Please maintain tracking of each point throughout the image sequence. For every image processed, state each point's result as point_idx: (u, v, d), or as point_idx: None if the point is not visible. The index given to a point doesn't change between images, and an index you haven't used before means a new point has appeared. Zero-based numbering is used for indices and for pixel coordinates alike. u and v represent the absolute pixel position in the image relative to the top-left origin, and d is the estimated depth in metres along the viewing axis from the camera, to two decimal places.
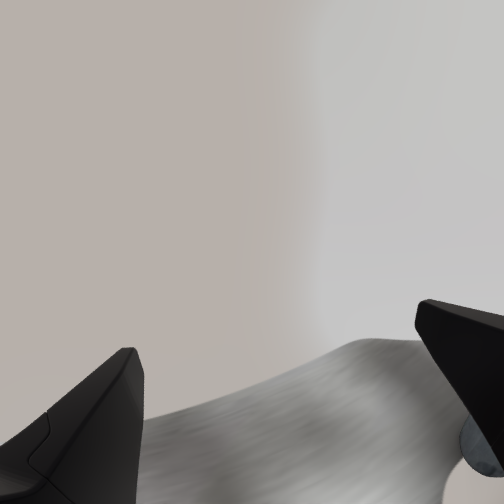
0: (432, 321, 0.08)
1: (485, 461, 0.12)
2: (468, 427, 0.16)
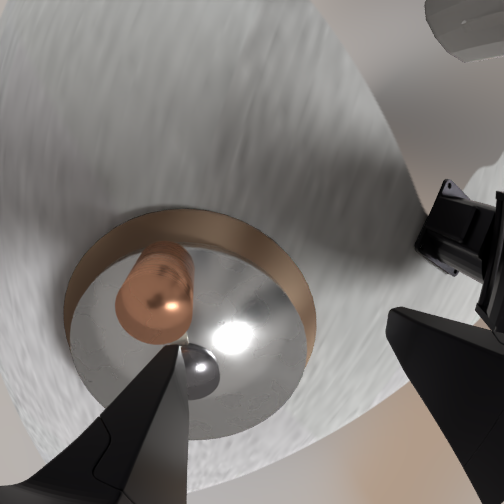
0: (402, 330, 0.08)
1: None
2: None
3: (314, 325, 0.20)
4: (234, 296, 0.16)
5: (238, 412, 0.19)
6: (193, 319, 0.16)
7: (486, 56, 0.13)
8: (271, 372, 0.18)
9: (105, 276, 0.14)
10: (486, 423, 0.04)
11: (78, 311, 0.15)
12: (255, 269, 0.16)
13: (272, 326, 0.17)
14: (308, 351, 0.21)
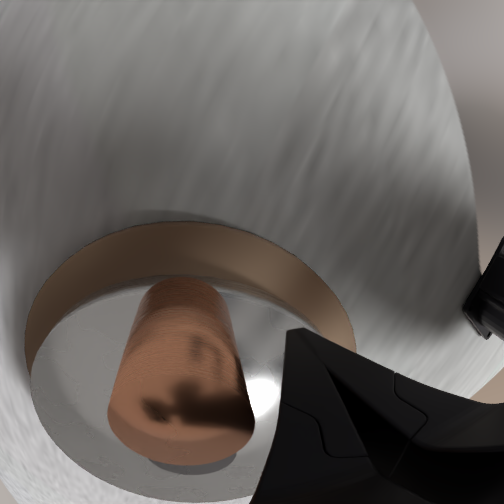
0: None
1: None
2: None
3: None
4: (277, 364, 0.10)
5: (243, 482, 0.13)
6: None
7: None
8: None
9: (85, 315, 0.09)
10: None
11: (42, 354, 0.09)
12: (314, 331, 0.10)
13: None
14: None
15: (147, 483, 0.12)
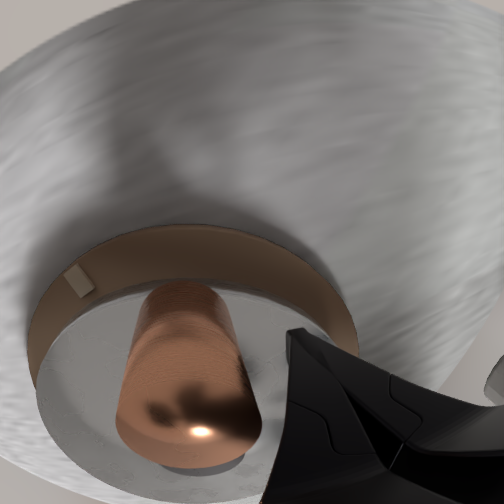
0: None
1: None
2: None
3: None
4: (280, 362, 0.11)
5: (253, 480, 0.13)
6: None
7: None
8: None
9: (86, 324, 0.09)
10: None
11: (46, 365, 0.09)
12: (315, 326, 0.11)
13: None
14: None
15: (158, 487, 0.12)
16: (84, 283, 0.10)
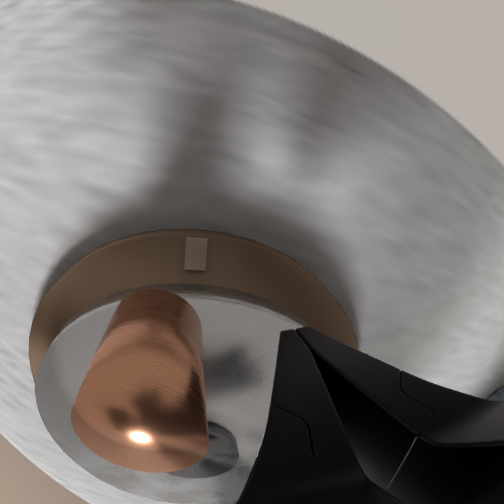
0: None
1: None
2: None
3: None
4: (262, 364, 0.10)
5: None
6: None
7: None
8: None
9: (69, 336, 0.09)
10: (379, 482, 0.04)
11: (41, 376, 0.09)
12: (294, 326, 0.10)
13: None
14: None
15: (164, 489, 0.12)
16: (200, 260, 0.11)
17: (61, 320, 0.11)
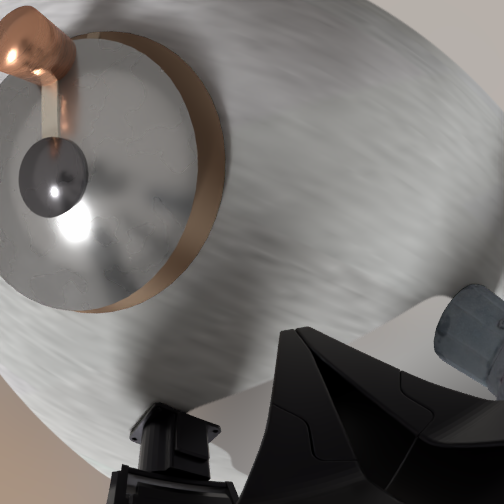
0: None
1: (450, 324, 0.22)
2: (477, 295, 0.22)
3: None
4: (108, 75, 0.11)
5: (115, 257, 0.14)
6: (67, 107, 0.11)
7: None
8: (150, 181, 0.13)
9: (5, 80, 0.10)
10: (379, 482, 0.04)
11: None
12: (132, 48, 0.11)
13: (148, 109, 0.12)
14: None
15: (34, 270, 0.13)
16: None
17: None
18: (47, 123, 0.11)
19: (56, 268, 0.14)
